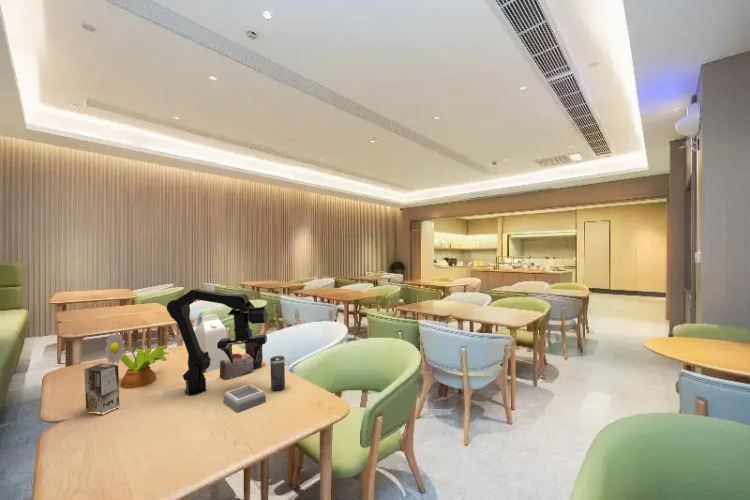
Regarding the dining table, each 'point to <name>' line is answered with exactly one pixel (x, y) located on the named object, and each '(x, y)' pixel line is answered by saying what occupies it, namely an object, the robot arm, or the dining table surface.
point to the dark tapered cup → (277, 373)
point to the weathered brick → (236, 366)
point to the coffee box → (101, 387)
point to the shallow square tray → (244, 397)
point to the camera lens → (251, 351)
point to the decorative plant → (138, 370)
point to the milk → (211, 339)
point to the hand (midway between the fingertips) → (244, 361)
